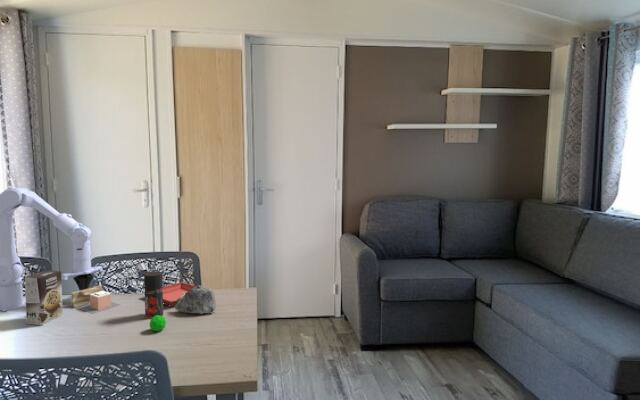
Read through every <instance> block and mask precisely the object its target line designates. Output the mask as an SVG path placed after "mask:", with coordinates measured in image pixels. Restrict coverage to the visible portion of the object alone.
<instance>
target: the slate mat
mask: <svg viewBox="0 0 640 400" xmlns="http://www.w3.org/2000/svg"><path fill="white" fill-rule="evenodd" d="M67 297H68V298H66V297H65V298H66V299H62V305H66V306H69V307H72V308H75V309H78V310H80V311H81V310H82V311H84V312H87V313H89V314H92V315H93V314H97V313H100V312H103V311H105V310H109V309H113V308H115V307H116V308H117V307H118V306H121V303H120V304H119V303H117V302H114V301H111V307H108V308H104V309H101V310H96V309H93V308H90V303H89V304H85V305H82V306H78V307H73V306H70V302H72V295H70V296H67Z"/></svg>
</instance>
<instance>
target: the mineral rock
mask: <svg viewBox="0 0 640 400" xmlns="http://www.w3.org/2000/svg"><path fill="white" fill-rule="evenodd" d="M216 300H217V299H216V295H215V292H214V291H213V289H212V288H210V287H204V285H196V287H194V288H193V289H192V290H189V291H188V292H186V293H185V295H184V296H183V297H180V298H178V299H177V304H176V305H175V306H174V307H173V308H174V309H175V310H176V311H178V312H182V313H188V314H202V315H204V314H203V313H211V312H213V311H214V310H215V309H216V310H217V304H216V303H217V302H216ZM216 310H215V311H216ZM213 313H214V312H213Z"/></svg>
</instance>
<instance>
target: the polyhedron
mask: <svg viewBox="0 0 640 400" xmlns="http://www.w3.org/2000/svg"><path fill="white" fill-rule="evenodd" d="M166 324H167V320H166V318H165V317H164V316H163V315H162V316H160V315H156V316H154V317H153V318H150V320H149V328H150V329H151V330H152V331H155V332H161V331H163V330H164V329H165V327H166Z"/></svg>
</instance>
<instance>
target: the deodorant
mask: <svg viewBox="0 0 640 400" xmlns="http://www.w3.org/2000/svg"><path fill="white" fill-rule="evenodd" d="M143 276H144V277H143V282H144V292H145V293H144V314H145V315H144V317H145V318H147V319H152V318H153V317H154V316H156V315H160V316H162V317H163V315H164V304H163V287H164V285H163V272H161V271H156V270H155V271H148V272H146V273H144V274H143Z"/></svg>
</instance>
